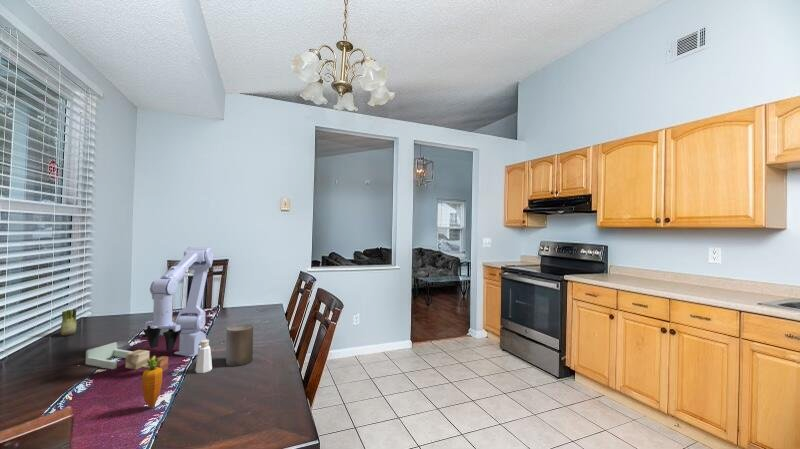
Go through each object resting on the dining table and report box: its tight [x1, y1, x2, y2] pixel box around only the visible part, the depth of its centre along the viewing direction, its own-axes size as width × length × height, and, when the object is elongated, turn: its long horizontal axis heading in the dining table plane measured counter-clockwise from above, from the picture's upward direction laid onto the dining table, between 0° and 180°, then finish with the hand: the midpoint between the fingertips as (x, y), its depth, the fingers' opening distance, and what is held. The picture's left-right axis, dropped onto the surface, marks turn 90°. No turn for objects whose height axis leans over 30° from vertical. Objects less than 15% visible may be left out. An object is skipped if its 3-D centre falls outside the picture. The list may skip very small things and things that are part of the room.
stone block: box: [87, 340, 131, 351], centre depth 138 cm, size 12×5×10 cm
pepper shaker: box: [194, 338, 213, 374], centre depth 124 cm, size 5×5×11 cm
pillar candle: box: [225, 322, 254, 367], centre depth 133 cm, size 10×10×15 cm
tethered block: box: [125, 349, 169, 372], centre depth 125 cm, size 16×5×5 cm, turn 74°
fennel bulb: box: [59, 308, 77, 337], centre depth 158 cm, size 6×5×12 cm
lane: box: [85, 341, 134, 370], centre depth 130 cm, size 14×10×5 cm
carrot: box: [141, 355, 164, 409], centre depth 98 cm, size 5×5×15 cm
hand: (162, 348), depth 123 cm, fingers open, 7 cm apart
